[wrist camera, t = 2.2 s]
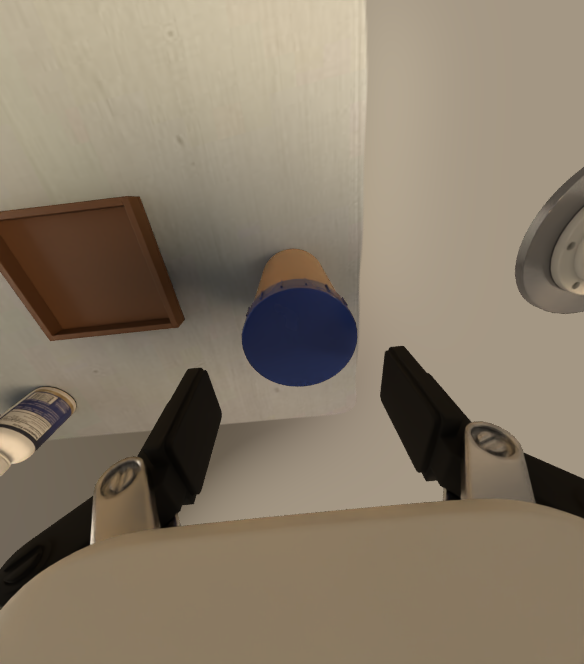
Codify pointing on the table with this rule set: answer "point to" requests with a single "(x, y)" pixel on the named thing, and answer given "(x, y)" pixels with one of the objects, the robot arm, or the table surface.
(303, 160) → the table surface
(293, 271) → the jar
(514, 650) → the robot arm
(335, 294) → the jar lid
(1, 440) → the pill bottle
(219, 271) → the table surface
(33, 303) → the tray
